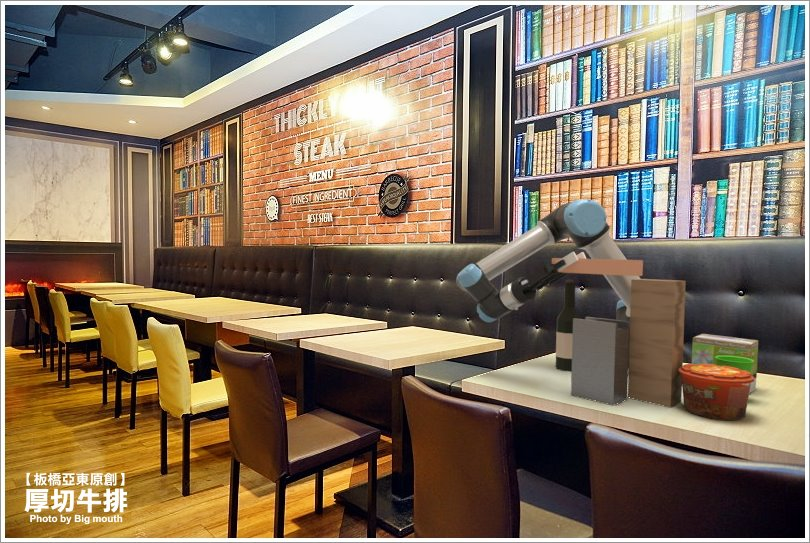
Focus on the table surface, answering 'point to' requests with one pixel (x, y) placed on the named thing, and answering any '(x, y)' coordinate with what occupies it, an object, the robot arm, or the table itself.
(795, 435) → the table surface
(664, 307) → the post
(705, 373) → the food container
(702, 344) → the tea box
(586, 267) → the bar
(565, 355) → the wine bottle
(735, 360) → the cup
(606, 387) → the block
